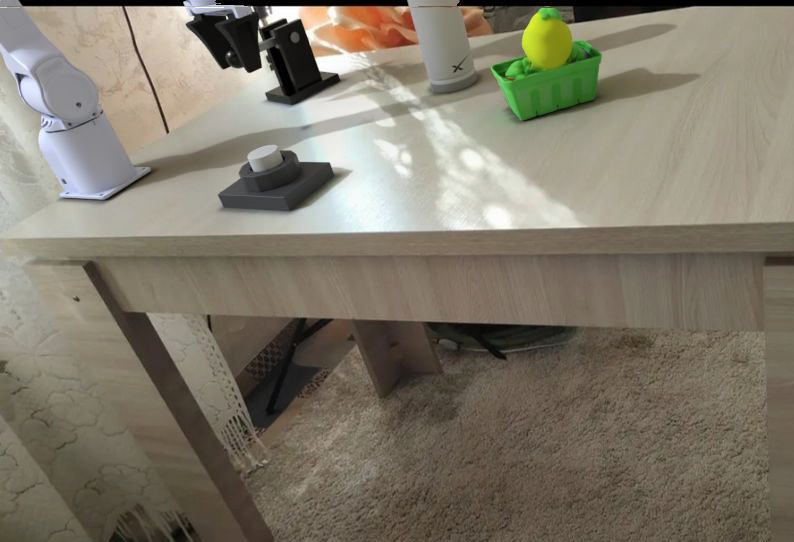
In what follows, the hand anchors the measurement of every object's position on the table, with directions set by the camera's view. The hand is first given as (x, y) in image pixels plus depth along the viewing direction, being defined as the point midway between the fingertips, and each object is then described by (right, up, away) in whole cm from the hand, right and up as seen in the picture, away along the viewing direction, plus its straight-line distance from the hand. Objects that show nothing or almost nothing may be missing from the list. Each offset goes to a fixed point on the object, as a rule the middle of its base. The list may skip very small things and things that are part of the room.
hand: (241, 68), depth 108 cm
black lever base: (+7, -1, +8) cm, 10 cm away
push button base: (+12, -22, -22) cm, 33 cm away
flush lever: (+3, +2, +2) cm, 4 cm away
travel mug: (+30, -4, -5) cm, 31 cm away
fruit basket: (+42, -11, -19) cm, 48 cm away
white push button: (+11, -19, -24) cm, 32 cm away
